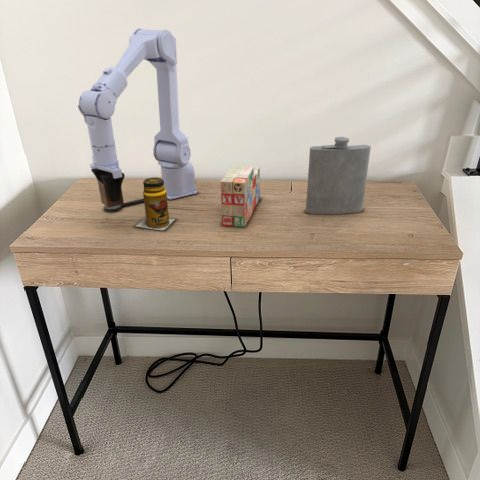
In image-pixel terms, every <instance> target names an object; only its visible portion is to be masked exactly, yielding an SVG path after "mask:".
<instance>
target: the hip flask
mask: <svg viewBox="0 0 480 480" xmlns="http://www.w3.org/2000/svg"><path fill="white" fill-rule="evenodd" d="M349 141H350V138H349V137H346V136H337V137H334V144H327V145H326V144H325V145H321V146H319V145H314V146H310V147H309V158H308V173H307V185H306V186H307V187H306V188H307V190H306V201H305V202H306V203H305V212H306V213H307V214H310V215H311V214H312V215H341V214H353V213H360V212H363V207H364V201H365V193H366V187H367V186H366V185H367V179H368V177H367V176H368V171H369V164H370V155H371V149H372V147H371V146H370V145H368V144H357V145H348V143H350V142H349Z"/></svg>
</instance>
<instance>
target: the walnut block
mask: <svg viewBox="0 0 480 480" xmlns="http://www.w3.org/2000/svg"><path fill="white" fill-rule="evenodd" d="M97 184H98V190H99V195H100V202H101V203H102V204H103V205H104V206H106V207H108V208H109V207H113V206H117V205H121V204H124V203H125V202H124V196H123V195H124V194H123V188H122V187H121V193H120V200H119V201H115V202H112V201H111V199H110V197H109V194H108V190H107V188H106V185H105V183H104V181H103V180H102V179H100V180H97Z"/></svg>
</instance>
